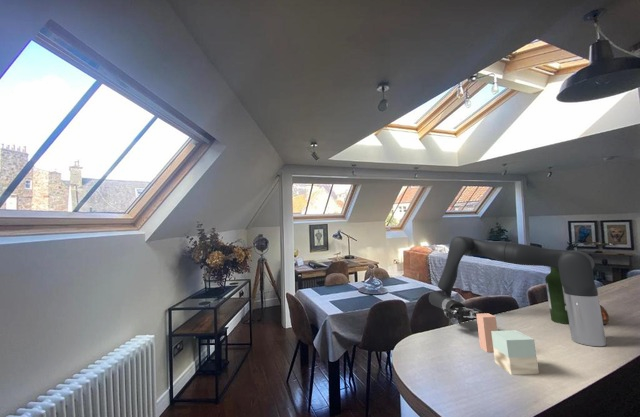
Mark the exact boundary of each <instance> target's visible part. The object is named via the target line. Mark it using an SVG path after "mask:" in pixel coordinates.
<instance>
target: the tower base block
mask: <svg viewBox="0 0 640 417" xmlns="http://www.w3.org/2000/svg"><path fill="white" fill-rule="evenodd" d="M493 350H494V352H493V357H494V363H495V364H497V366H499V367H500V368H502V369H503V370H505V371H506V372H507V373H508V374H510V376H517V375H539V374H540V371H539V366H538V365H539V364H538V363H539V362H538V359H537V356H536V357H516V358H508V357H507V356H506V355H504V354H503V353H501V352H500V351H498V350H497V349H495V348H494V347H493Z"/></svg>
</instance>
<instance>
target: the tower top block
mask: <svg viewBox="0 0 640 417" xmlns="http://www.w3.org/2000/svg"><path fill="white" fill-rule="evenodd" d="M491 333H492V341H493V347H494V348H495V349H497V350H498V351H500V352H501V353H503V354H504V355H506V356H507V357H508V358H516V357H537V352H536V351H537V350H536V343H535V339H534V338H532V337H530V336H529V335H526V334H525V333H522V332H520V331H519V330H516V329H514V330H497V331H491Z"/></svg>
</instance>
